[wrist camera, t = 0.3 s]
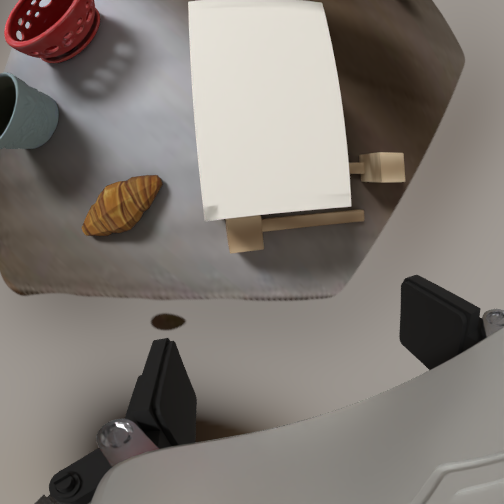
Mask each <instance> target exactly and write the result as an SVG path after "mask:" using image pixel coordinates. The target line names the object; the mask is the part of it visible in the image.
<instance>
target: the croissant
mask: <svg viewBox="0 0 504 504" xmlns="http://www.w3.org/2000/svg"><path fill="white" fill-rule="evenodd" d="M161 186H162V181H161V179H160V178H159V177H158V176H157V175H146V176H138V177H131V178H130V179H129V180H127V181H120V182H116V183H113V184H111V185H108V186H106V187H105V188H104V190H103V191H102V192H101V194H100V195H99V196H98V199H97V201H96V203H95V204H94V205H92V206H91V208H90V210H89V212H88V214H87V216H86V218H85V221H84V223H83V226H82V230H83V232H84V234H85V235H87V236H108V235H110V234H111V233H113V232H114V233H121V232H124V231H127V230H130V229H132V227H133V226H134V225H135V224H136V223H137V222H138V221H139V220H140V218H141V216H142V214H143V212H144V211H146V210H147V209H148V208H149V207H150V205H151V204H152V202H153V200H154V199H155V197H156V195H157V193H158V192H159V190H160V188H161Z"/></svg>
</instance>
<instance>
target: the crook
mask: <svg viewBox="0 0 504 504" xmlns="http://www.w3.org/2000/svg"><path fill="white" fill-rule="evenodd" d="M359 160H360V163H349V174H361V182H405V170H404V157H403V153H387V152H378V153H370V154H363V155H359Z"/></svg>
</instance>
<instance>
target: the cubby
mask: <svg viewBox="0 0 504 504" xmlns="http://www.w3.org/2000/svg"><path fill="white" fill-rule="evenodd" d="M188 6H189V37H190V58H191V76H192V91H193V105H194V118H195V130H196V141H197V152H198V163H199V173H200V182H201V191H202V200H203V209H204V217H205V221H212V220H220V219H229V218H237V217H246V216H255V215H264V214H274V213H284V212H294V211H305V210H316V209H327V208H339V207H351V190H350V175H349V162H348V151H347V141H346V132H345V123H344V115H343V108H342V101H341V94H340V87H339V81H338V75H337V69H336V64H335V58H334V53H333V48H332V43H331V39H330V34H329V29H328V25H327V21H326V17H325V13H324V9H323V5H322V3H320V2H312V1H303V0H201V1H192V2H188Z"/></svg>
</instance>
